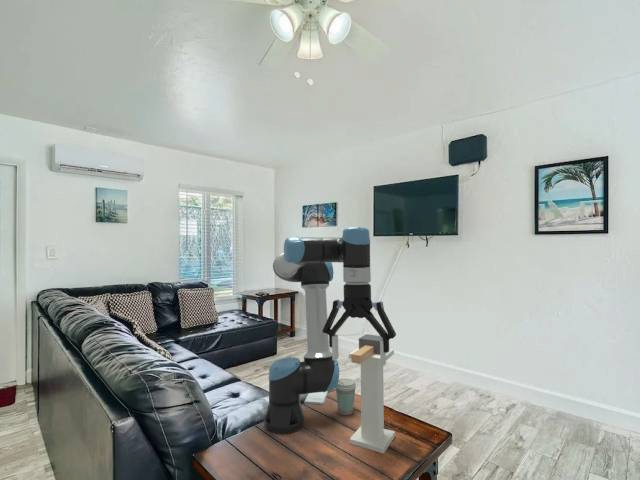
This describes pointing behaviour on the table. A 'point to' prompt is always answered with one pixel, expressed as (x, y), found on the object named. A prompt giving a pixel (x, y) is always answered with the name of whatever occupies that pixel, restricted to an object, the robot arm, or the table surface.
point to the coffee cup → (345, 396)
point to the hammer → (366, 348)
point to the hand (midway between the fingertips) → (358, 362)
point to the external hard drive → (316, 398)
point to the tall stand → (372, 407)
